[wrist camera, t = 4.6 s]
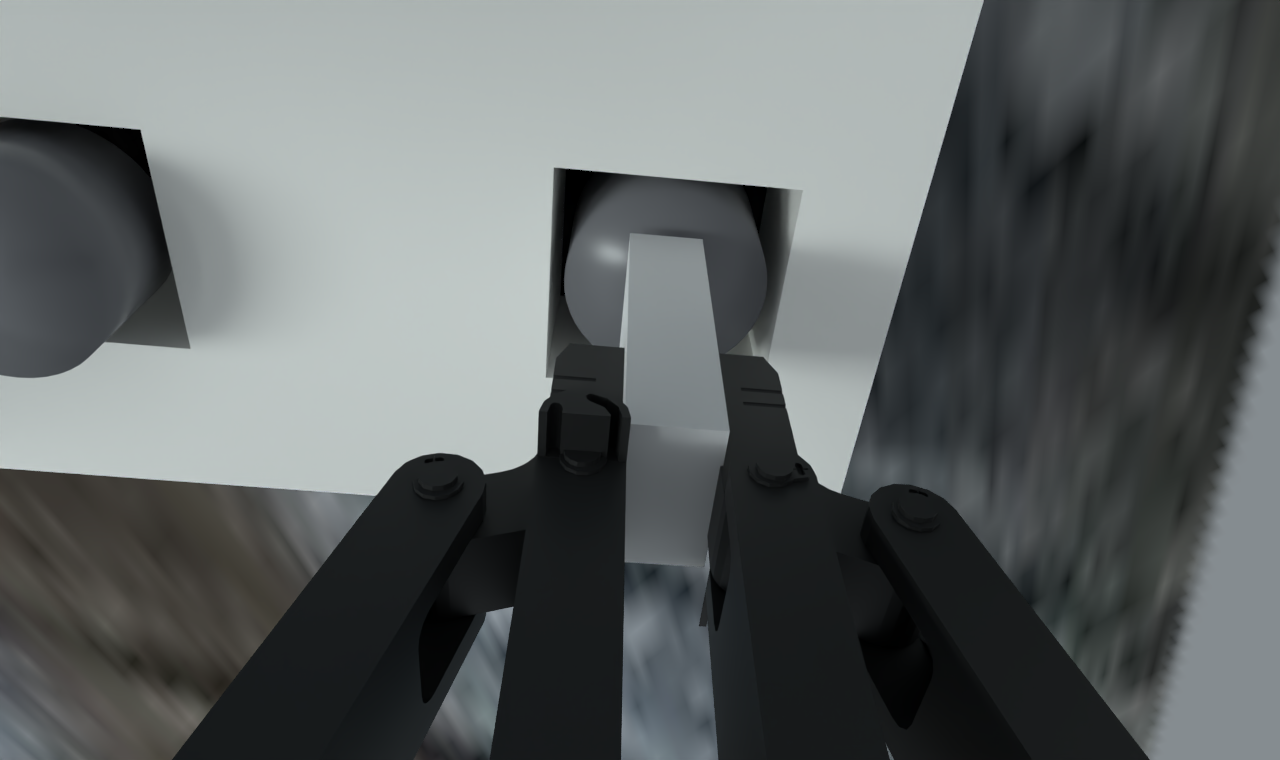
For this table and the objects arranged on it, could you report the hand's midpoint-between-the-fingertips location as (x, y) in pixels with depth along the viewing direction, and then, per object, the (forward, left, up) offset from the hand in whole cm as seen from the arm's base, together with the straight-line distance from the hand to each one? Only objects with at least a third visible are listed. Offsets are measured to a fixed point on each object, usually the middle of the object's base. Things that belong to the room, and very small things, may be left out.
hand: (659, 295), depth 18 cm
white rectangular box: (-6, 0, -4) cm, 7 cm away
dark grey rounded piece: (-13, 0, -1) cm, 13 cm away
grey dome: (0, 0, -4) cm, 4 cm away
